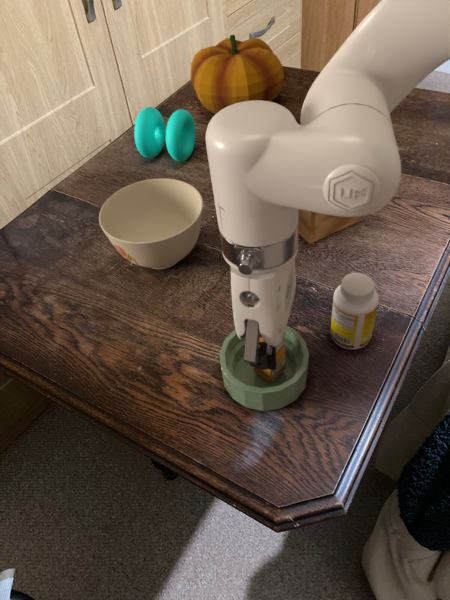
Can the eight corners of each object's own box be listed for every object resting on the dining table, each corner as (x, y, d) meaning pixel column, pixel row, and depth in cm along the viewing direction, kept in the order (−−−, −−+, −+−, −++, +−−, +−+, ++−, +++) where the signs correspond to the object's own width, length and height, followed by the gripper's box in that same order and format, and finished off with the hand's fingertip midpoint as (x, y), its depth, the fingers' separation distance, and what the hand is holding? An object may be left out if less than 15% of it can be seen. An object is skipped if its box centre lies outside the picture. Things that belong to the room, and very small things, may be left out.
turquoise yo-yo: (182, 172, 99) (174, 125, 92) (138, 166, 102) (126, 121, 95) (200, 145, 105) (193, 100, 98) (157, 141, 108) (148, 97, 101)
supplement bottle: (367, 318, 69) (376, 266, 62) (374, 350, 66) (386, 298, 58) (327, 320, 70) (331, 269, 62) (332, 352, 66) (338, 301, 59)
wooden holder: (323, 191, 90) (325, 158, 85) (361, 220, 84) (365, 187, 79) (274, 211, 88) (274, 179, 83) (309, 244, 81) (311, 211, 76)
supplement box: (251, 373, 64) (245, 323, 57) (267, 356, 66) (264, 305, 58) (270, 386, 62) (267, 337, 55) (287, 369, 64) (286, 318, 57)
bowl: (105, 244, 86) (88, 197, 78) (190, 215, 89) (182, 167, 82) (130, 304, 76) (113, 256, 68) (225, 269, 79) (219, 220, 71)
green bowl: (277, 329, 70) (276, 308, 66) (324, 385, 63) (326, 365, 59) (208, 363, 67) (204, 343, 63) (250, 426, 60) (248, 408, 57)
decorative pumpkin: (176, 109, 117) (164, 43, 106) (242, 76, 126) (237, 11, 115) (234, 136, 107) (228, 65, 96) (301, 98, 116) (303, 29, 105)
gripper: (279, 306, 41) (284, 415, 54) (312, 188, 52) (309, 304, 65) (195, 294, 43) (219, 402, 56) (243, 183, 54) (254, 296, 67)
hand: (267, 349), depth 61 cm, fingers closed on supplement box, 4 cm apart
